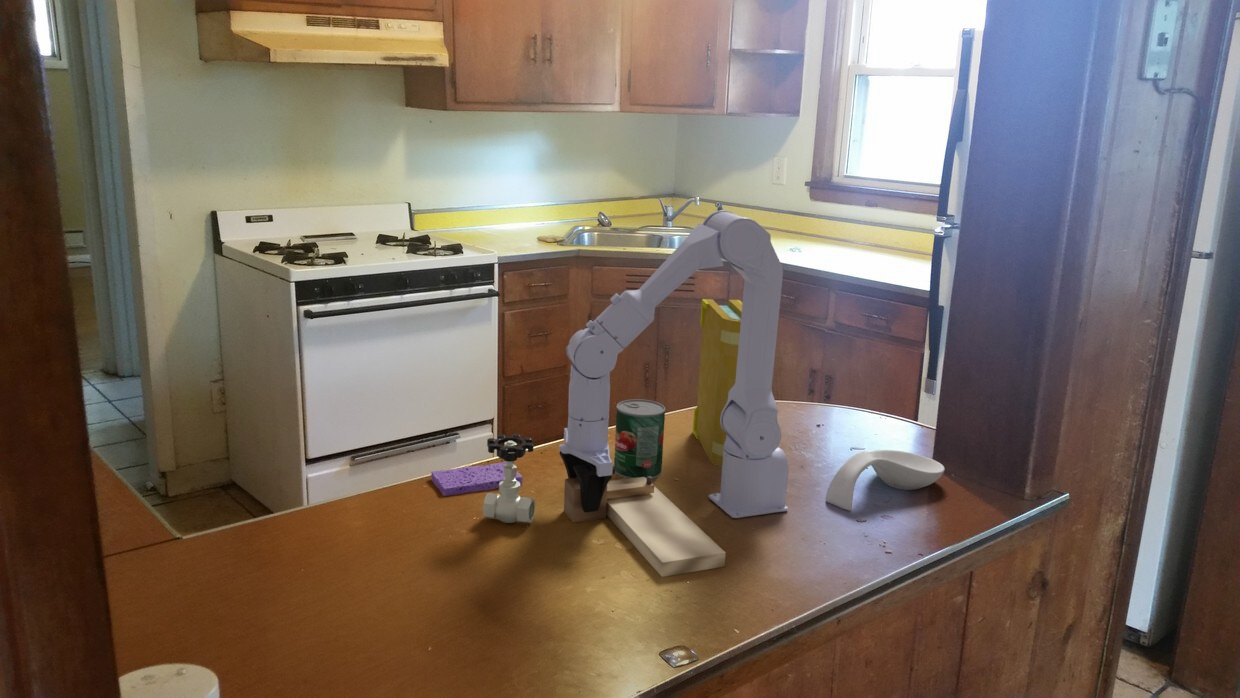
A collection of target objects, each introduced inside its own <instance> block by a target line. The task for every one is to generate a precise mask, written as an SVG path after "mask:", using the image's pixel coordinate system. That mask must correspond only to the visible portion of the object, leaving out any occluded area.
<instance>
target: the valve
mask: <svg viewBox="0 0 1240 698" xmlns="http://www.w3.org/2000/svg"><path fill="white" fill-rule="evenodd" d="M496 437H497V438H496V439H495V438H493V437H489V438H488V439H487V442H486V447H487V452H488V453H489V454H494V453H495V450H496V455H497V457H498V459H502V460H503V461H504V462H506V465H504V466H503V475H504V477H506V478H504V479H503V481H501V482H500V483H499V488H498V492H499V493H500V494H499V493H496V492H495V493H493V492H487V493H486V495H485V498H484V500H483V504H482V513H483V517H484V518H489V519H496V520H499V521H500V522H502V523H506V524H512V523H516V522H520V523H524V524H525V523H526V524H532V522H533V519H534V517H535V513H536V501H535V499H534V498H532V497H527V496H526V497H523V496H520V495H519V493H520V492H521V485H520V482H518V481H516V479H515V478H514V476H516V472H517V466H516V464H515V463H514V462H515V461H517V460H518V459H521V458H523V457H524V456H525V455H526V453H527V452H528V453H532V452H534V443H533V438H532V437H524V438H521V434H519V433H514V434H512V435H511V436H506V435H505V434H503V433H500V434H497V436H496ZM502 444H503V445H502ZM517 444H519V445H518V446H517Z"/></svg>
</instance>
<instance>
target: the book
mask: <svg viewBox="0 0 1240 698" xmlns="http://www.w3.org/2000/svg"><path fill="white" fill-rule="evenodd" d="M742 303H743V301H741V300H740V299H728V304H727V305H719V304H718V303H717V302H716V301H715V300H714V299H713V298H702V299H701V308H700V323H699V326H700V327H701V328H702V332H701V346H700V356H699V357H700V359H699V372H698V373H699V374H698V375H699V376H698V387H697V399H696V400H697V402H696V403H697V404H696V407H694V409H693V421H692V434H693V436H694V435H695V436H694V438H695V437H696V438H695V440H696V439H699V440H700V441H699V440H698V441H699V442H700V444H701V445H702V448H703V447H704V448H703V450H704V449H705V450H704V452H705V451H706V452H705V454H706V453H707V454H706V455H707V458H708V459H709V461H710V463H711V462H712V464H713V465H715V466H717V465H718V467H720V466H721V467H720V468H722V464H723V452H724V443H725V441H726V435H727V433H725V432H724V430H723V429H722V427H721V423H720V416H721V413H722V410H723V409H724V407H725V405H726V403H727V400H728V393H729V391H730V389H731V388H732V387H733V386H734V385H735V381H736V370H737V358H738V347H739V336H740V325H741V314H742Z"/></svg>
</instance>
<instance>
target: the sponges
mask: <svg viewBox="0 0 1240 698" xmlns="http://www.w3.org/2000/svg"><path fill="white" fill-rule="evenodd" d="M504 465H506V461H504V462H498V463H491V464H487V465H486V464H484V465H475V466H467V467H466V466H465V467H457V468H450V469H442V470H434V471H431V472H430V473H431V474H430V477H431V481H432V483H433V484H434V485H435V486H436V488H437V489H439V492H440V493H441V494H442V495H443V496H444V497H447V496H453V495H454V496H455V495H460V494H461V495H462V494H467V493H468V494H469V493H474V492H482V491H489V490H495V489H499V483H500V482H501V481H503V479H504V478H506V477H504V475H503V466H504ZM514 478H515V479H516V481H518V482H520V486H523V475H522V474H520V473H519V472H518V471H516V476H514Z"/></svg>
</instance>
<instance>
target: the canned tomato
mask: <svg viewBox="0 0 1240 698" xmlns="http://www.w3.org/2000/svg"><path fill="white" fill-rule="evenodd" d="M615 407H616V412H615V413H616V416H615V435H614V436H615V437H614V438H615V439H614V457H613V460H614V463H613V466H614V467H615V473H614V474H616V475H617V476H618V477H620V478H623V479H630V478H639V477H645V478H646V479H647V476H651V477H652V480H654V479H656V478H659V477H660V476H661V475H662V472H663V470H662V467H663V455H664V454H663V453H664V437H665V436H664V434H665V419H666V407H665V405H663V404H662V403H661V402H657V401H655V400H650V399H649V400H648V399H643V398H642V399H639V398H638V399H627V400H626V399H625V400H622V401H620V402H618V403H617V404H616V406H615Z"/></svg>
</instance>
